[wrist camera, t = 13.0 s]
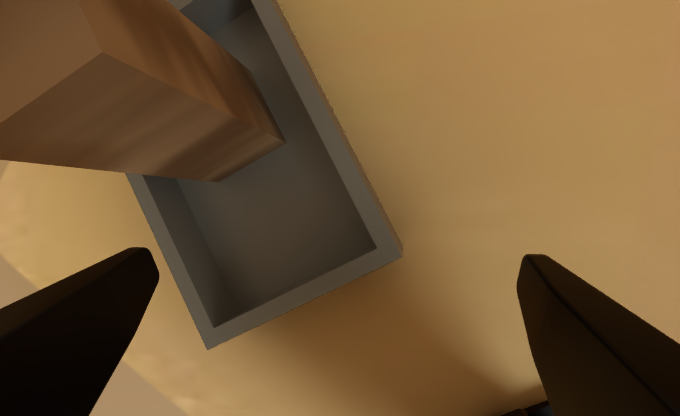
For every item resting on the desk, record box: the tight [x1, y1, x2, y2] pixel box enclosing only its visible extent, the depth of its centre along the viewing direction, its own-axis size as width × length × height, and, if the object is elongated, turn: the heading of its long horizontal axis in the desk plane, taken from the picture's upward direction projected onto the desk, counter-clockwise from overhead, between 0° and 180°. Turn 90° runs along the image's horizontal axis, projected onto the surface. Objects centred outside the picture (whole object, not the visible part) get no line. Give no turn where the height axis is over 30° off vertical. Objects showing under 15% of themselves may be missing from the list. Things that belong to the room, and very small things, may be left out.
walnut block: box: [0, 0, 286, 182], centre depth 14 cm, size 4×4×12 cm
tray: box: [125, 0, 403, 350], centre depth 19 cm, size 16×10×4 cm, turn 27°
